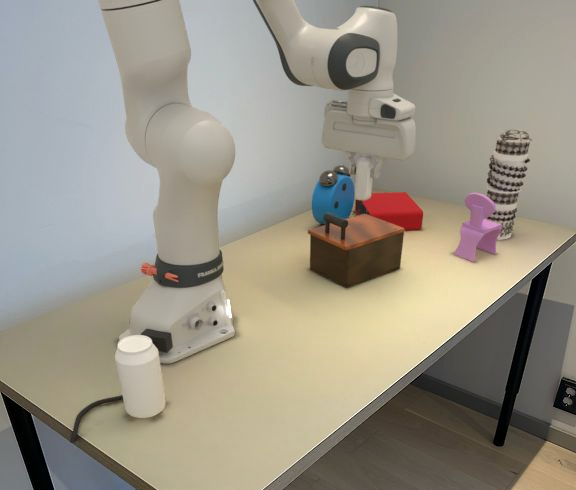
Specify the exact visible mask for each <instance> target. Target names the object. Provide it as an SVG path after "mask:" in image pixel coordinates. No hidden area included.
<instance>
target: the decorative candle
mask: <svg viewBox="0 0 576 490" xmlns="http://www.w3.org/2000/svg"><path fill="white" fill-rule="evenodd" d="M532 141H533V139H532V138H530V135H529V133H528V132H527V131H524V130H520V129H506V130H504V131H502V132H501V134H500V135H499V136H496V143H495V148H494V150H493V154H492V155H491V156H490V157H489V161H490V163H488V169H489V170H488V172H487V178H486V183H487V184H486V186H485V188H486V189H487V191H486V196H487V197H488V198H490V199H491V200H492V201H493V202H494V203H495V206H496V208H495V211H494V213H493V214H492V215H491V216H490V217H487V218H485V219H486V220H488V221H491V222H495V223H499V224H502V226H501V232H500V234H499V236H498V238H497V241H500V240H501V241H502V240H507V239H510V238H511V237H512V232H513V231H514V229H513V227H514V225H515V221H514V219H515V218H516V217H517V216H516V213H517V212H518V209H517V206H518V202H519V201H518V198H519V193H520V192H521V191H522V190H523V189H522V186H524V182H523V181H522V179H524V178H526V176H527V174H526V173H525V172H527V170H528V167H527V165H526V164H527V163H529V162H531V159H530V158H529V148H530V145H531V144H530V143H531V142H532Z"/></svg>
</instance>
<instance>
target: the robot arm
mask: <svg viewBox="0 0 576 490" xmlns="http://www.w3.org/2000/svg"><path fill="white" fill-rule="evenodd" d="M97 3H98V6H99V9H100V12H101V15H102V19H103V21H104V22H103V23H104V25H105V28H106V31H107V35H108V38H109V41H110V44H111V47H112V51H113V53H114V57H115V61H116V64H117V68H118V72H119V77H120V82H121V89H122V97H123V104H124V110H125V121H124V131H125V136H126V140H127V141H128V143H129V145H130V146H131V148H132V150H133V151H134V153H136V155H137V156H138V157H139V158H140V160H142V161H143V162H144V163H146V164H148V165H149V166H151V167H153V168H155V169H156V171H157V173H158V178H159V187H158V188H159V189H158V198H157V204H156V206H155V207H154V209H153V211H152V220H153V227H154V235H155V241H156V247H157V248H156V249H157V254H156V257H155V262H154V264H150V263H148V262H144V263H142V264H141V266H140V271H141V273H142V274H143V275H146V276H149V277H152V280H151V282H150V283H149V284H148V286H147V287H146V289H145V290H144V292H142V294H141V295H140V297H138V300H137V301H136V302H135V303H134V305H133V306H132V308H131V309H130V313H129V328H128V329H126V330H125V331H123V332H122V333H121V334H119V336H118V342H119V341H120V340H122V339H123V338H125V337H128V336H132V335H144V336H147V337H149V338H151V340H152V343H153V344H154V345H155V346H156V348H157V349H158V353H159V360H160V364H173V363H176V362H178V361H181V360H183V359H185V358H187V357H190V356H192V355H195V354H197V353H199V352H202V351H203V350H206V349H209V348H210V347H213V346H216V345H217V344H219V343H220V344H221V343H222V342H224V341H226V340H228V339H231V338H233V337H235V336H236V330H235V327H234V316H233V315H232V311H231V304H230V303H231V302H230V299H228V295H227V292H226V288H225V284H224V278H223V273H224V269H225V268H224V264H225V262H224V259H223V252H222V250H221V249H220V236H219V223H218V222H219V219H218V212H219V200H220V194H221V191H222V190H221V189H222V185H223V182H224V180H225V179H226V178H227V177H228V175H229V174H230V172H231V171H232V168H233V166H234V164H235V160H236V144H235V140H234V138H233V136H232V134H231V132H230V130H229V129H228V128H227V127H226V126H225V125H224V124H223V123H222V122H220V120H218V119H217V118H216V117H215V116H214V115H212V114H211V113H210V112H207V111H205V110H202V109H199V108H195V107H193V104H192V103H191V101H190V97H189V88H188V69H189V64H190V62H191V58H192V48H191V44H190V40H189V36H188V31H187V27H186V23H185V19H184V15H183V10H182V5H181V2H180V0H97ZM252 3H254V5H255V7H256V9H257V11H258V13H259V15H260V17H261V19H262V21H263V22H264V24H265V27H266V28H267V30H268V32H269V33H270V35H271V37H272V39H273V41H274V43H275V45H276V48H277V51H278V52H277V53H278V55H279V59H280V63H281V66H282V70H283V72H284V74H285V75H286V77H287V79H288V80H289V81H290V82H291V83H292V84H294V85H297V86H300V87H316V88H321V89H325V90H326V89H327V90H334V91H342V92H343V91H347V98H346V99H347V100H337V99H331V100H330V101H328V102H327V103H325V105H324V108H323V116H324V119H323V125H322V130H321V131H322V132H321V144H322V146H323V148H324V149H330V150H337V151H342V152H344V158H345V160H346V162H347V165H348V169H349V174H351V175H354V176H356V165H357V161H356V159H355V157H354V156H356V155H357V154H359V155H360V154H366V155H371V156H372V157H375V162H376V163H377V164H376V165H375V167H374V168H373V169H371V171H370V173H371V174H370V177H371V178H373V179H375V180H376V179H379V178H380V177H381V170H382V169H383V167H384V165H385V164H386V162H387V160H388V159H391V160H397V161H406V160H409V159H410V158H412V156H413V155H414V154H415V151H416V144H417V142H416V141H417V125H416V122H415V120H414V119H413V118H412V117H413V116H414V115H415V113H416V105H415V104H414V103H413V102H411V101H409V100H407V99H405V98H403V97H401V96H399V95H398V94H396V93H394V89H395V88H394V77H393V76H394V69H395V67H396V63H397V55H398V40H399V39H398V36H399V34H398V31H399V30H398V21H397V20H398V19H397V16H396V14H395V13H394V12H393V11H392V10H391V9H388V8H386V7H382V6H374V5H360V6H358V7H356V9H355V11H354V13H353V15H352V16H351V17H350V18H349V19H348V20H346V21H345V22H344V23H343V24H341V25H339V26H337V27H336V28H322V27H317V26H314V25H312V24H310V23H309V22H307V21H306V20H305V19H304V18H303V16H302V15H301V13H300V10H299V8H298V7H297V4H296V2H295V0H252ZM119 401H123V396H122V394H121V395H117V396H111V397H107V398H102V399H99V400H95V401H94V402H91V403H90V404H88V405H87V406H85V407H83V408H82V409H81V410H80V411H79V412H78V414H77V415H76V417H75V419H74V424H73V428H72V433H71V438H70V443H71V444H74V443H76V442H77V438H78V434H79V428H80V426H81V425H80V424H81V422H82V419H83V417H84V416H85V415H86V414H87V413H88V412H90V411H91V410H92V409H94V408H96V407H99V406H101V405H105V404H109V403H114V402H119Z"/></svg>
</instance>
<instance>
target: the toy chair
mask: <svg viewBox="0 0 576 490" xmlns="http://www.w3.org/2000/svg"><path fill="white" fill-rule="evenodd" d="M464 205H465V206H466V208H467V209H468V210H469V212H470V215H469V216H470V217H469V220H467V221H463V222H462V224H461V227H460V229H459V231H460V236H459V237H460V239H459V243H458V246H457V247H456V248H455V251H453V253H452V254H453V255H454V256H457V257H458V258H459V257H460V258H463V259H465V260H466V261H469V262H472V263H475V262H476V251H477V249H479V250H482V251H485V252H487V253H490V254H493V255H496V254H497V243H498V242H497V241H498V240H497V238H498V236H499V234H500V232H501V226H502V224H499V223H495V222H491V221H488V220H486V219H485V218H487V217H490V216H491V215H492V214H493V213H494V211H495V208H496V206H495V203H494V202H493V201H492V200H491V199H490V198H488V197H487V195H485V194H482V193H479V192H470V193H468V194H466V196H465V198H464Z"/></svg>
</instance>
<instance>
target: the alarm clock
mask: <svg viewBox="0 0 576 490" xmlns="http://www.w3.org/2000/svg"><path fill="white" fill-rule="evenodd" d="M351 175H352V174H349V167H347V166H346V165H345V164H338V165H336V166H335V167H334V168H333V169H327V170H324V171H323V172H321V173H320V175H319V177H318V180H317V182H316V184H315V187H314V189H313V193H312V198H311V213H312V217H313V219H314V220H315V221H316V222H317V223H318V227H320V226H322V225H325V221H324V219H323V216H324V214H325V213H330V214H332V215H335V216H337V217H340V218H342V219H348V218H350V215H351V213H352V211H353V207H354V202H355V183H354V182H353V179H352V178H351Z"/></svg>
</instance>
